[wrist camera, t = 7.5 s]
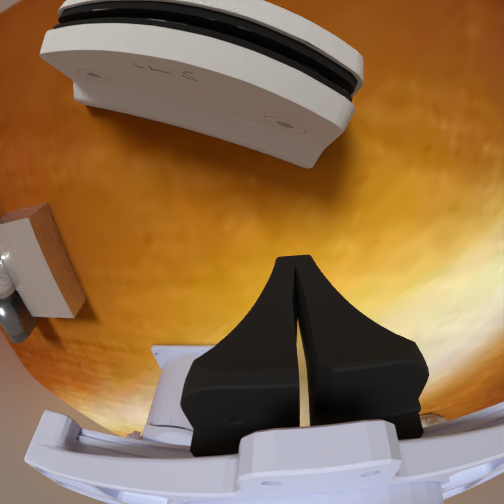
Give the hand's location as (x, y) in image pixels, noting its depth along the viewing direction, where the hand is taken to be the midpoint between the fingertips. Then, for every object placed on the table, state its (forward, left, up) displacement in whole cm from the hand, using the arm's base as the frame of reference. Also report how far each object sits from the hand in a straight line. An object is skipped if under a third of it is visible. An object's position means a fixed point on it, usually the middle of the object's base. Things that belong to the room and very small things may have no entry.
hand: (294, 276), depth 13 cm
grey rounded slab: (+8, +4, -10) cm, 14 cm away
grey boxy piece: (-3, +24, -9) cm, 26 cm away
